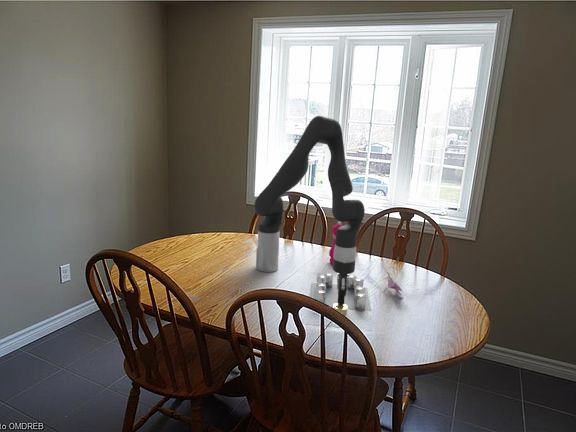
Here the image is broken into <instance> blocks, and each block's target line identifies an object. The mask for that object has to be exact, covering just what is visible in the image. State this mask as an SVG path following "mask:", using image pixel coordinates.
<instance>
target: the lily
mask: <svg viewBox="0 0 576 432" xmlns="http://www.w3.org/2000/svg"><path fill="white" fill-rule="evenodd" d="M383 269H384V271H385V272H386V273H387V276H386V277H385V278H386V279H387V280H388V281H387V287H386V288H385V289H384V290H383V292H382V294H384V293H385V292H386V291H387V290H388V289H392V290H395V291H396V292H397V293H398V294H399V295H400V296H401V297H402V298H404V297H403V295H402V293H401V292H403V289H402V288H401V287H400V286H399V285H398V281H394V279H393V278H392V277H391V275H390V273H389V272H388V271H387V269H386V268H384V267H383Z"/></svg>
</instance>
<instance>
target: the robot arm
mask: <svg viewBox="0 0 576 432" xmlns="http://www.w3.org/2000/svg"><path fill="white" fill-rule="evenodd" d="M317 144H321V145H327V147H328V151H329V152H330V160H329V161H330V162H329V164H328V168H327V178H328V182H329V186H330V189H331V195H332V196H331V197H332V198H331V201H332V203H331V204H332V206H331V214H332V217H333V218H334V219H335V220H336V221H337V222H338V221H339V222H341V223H342V222H346V223H345V225H343V226H342V227H339V228H338V229H337V231H336V240H335V248H334V256H333V264H332V271H333V272H335V273H337V274H336V282H337V283H336V285H337V289H338V303H342V304H344V299H345V296H346V290H347V287H348V282H349V275H352V274H353V273H354V272H355V270H356V258H357V239H358V233H359V230H360V229H361V224H362V223H363V221H364V218H365V206H364V203H363V202H362V200H360V199H344V197H346V196H347V197H348V196H349V195H351V194H352V192H353V189H354V188H353V184H352V181H351V177H350V175H349V170H348V166H347V162H346V156H345V155H346V154H345V146H344V145H345V144H344V137H343V129H342V126H341V123H340V122H339V121H338V120H336V119H335V118H334V119H333V118H330V117H326V116H323V115H316V116H314V117H313V118H312V119H311V120H310V121H309V123H308V124H307V125H306V127H305V130H304V132H303V133H302V135H301V137H300V138H299V140H298V142H297V143H296V145H295V146H294V148H293V150H292V151H291V153H290V154H289V155H288V157H287V158H286V160H284V162H283V163H282V165H280V168H279V170H278V171H277V172H276V174H275V175H274V176H273V178H272V179H271V180H270V182H269V183H268V184H267V186H266V187H265V188H264V189H263V190H261V192H260V193H259V194H258V195H257V197H256V198H255V201H254V207H253V208H254V211H255V214H257V215H258V216H260V217H264V219H263V220H261V221H260V222H259V223H258V224H257V248H256V254H255V256H256V258H255V270H256V271H260V272H265V273H272V272H276V271H277V270H279V256H280V255H279V254H280V251H279V250H280V230H281V226H282V224H283V223H282V222H283V213H284V202H283V198H282V196H283V195H284V194H286V193H287V192H289V191H290V190H292V188H294V187H296V186H297V185H298V184H299V183H300V182H301V180H302V179H303V178H304V177H305V175H306V174H307V172H308V169H309V156H310V153H311V152H312V149H314V147H315V146H316V145H317Z"/></svg>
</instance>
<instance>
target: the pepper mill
mask: <svg viewBox="0 0 576 432" xmlns="http://www.w3.org/2000/svg"><path fill="white" fill-rule="evenodd" d="M342 226H344V225H343V224H342V222H339V221H337V224H335V225H333V227H332V228H331V231H332V238H333V242H332V246H331V247H330V249H329V251H328V252H329V253H328V255H329V257H330V258H329V264H331V265H333V256H334V248H335V240H336V231H337V229H338V228H339V227H342Z"/></svg>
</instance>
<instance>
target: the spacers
mask: <svg viewBox="0 0 576 432" xmlns="http://www.w3.org/2000/svg"><path fill="white" fill-rule="evenodd" d="M348 275H349V282H348V287H347V289H348V290H353V293H354V302H355V311H358V312H363V311H364V310H365V304H366V295H365V288H366V287H365V288H364V279H363V278H360V277H357V275H355V274H348ZM316 276H317V277H316V283H317V284H316V291H315V299H317V300H319V301H321V302H323V303H325V296H326V288H332V285H334V284H333V282H334V274H333V273H332V272H325V273H323V274H319V275H316Z"/></svg>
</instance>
